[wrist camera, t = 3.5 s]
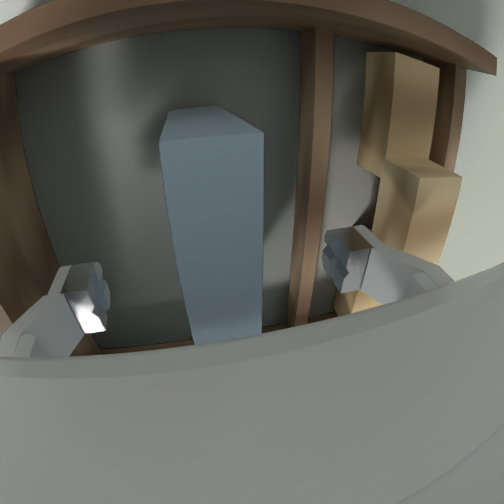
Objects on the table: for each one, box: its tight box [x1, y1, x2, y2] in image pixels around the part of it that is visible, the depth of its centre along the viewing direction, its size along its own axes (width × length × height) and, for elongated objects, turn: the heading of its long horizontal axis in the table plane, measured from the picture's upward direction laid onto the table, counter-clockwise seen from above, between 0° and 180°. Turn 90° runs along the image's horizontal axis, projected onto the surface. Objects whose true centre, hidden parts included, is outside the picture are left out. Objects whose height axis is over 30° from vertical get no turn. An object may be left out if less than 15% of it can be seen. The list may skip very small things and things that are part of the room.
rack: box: [0, 0, 497, 357], centre depth 12 cm, size 19×22×6 cm
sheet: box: [159, 106, 264, 345], centre depth 11 cm, size 10×2×7 cm, turn 0°
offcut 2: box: [357, 52, 440, 178], centre depth 12 cm, size 6×3×2 cm, turn 179°
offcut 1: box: [333, 229, 382, 317], centre depth 17 cm, size 6×3×2 cm, turn 1°
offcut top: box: [372, 158, 462, 265], centre depth 12 cm, size 6×3×2 cm, turn 2°
